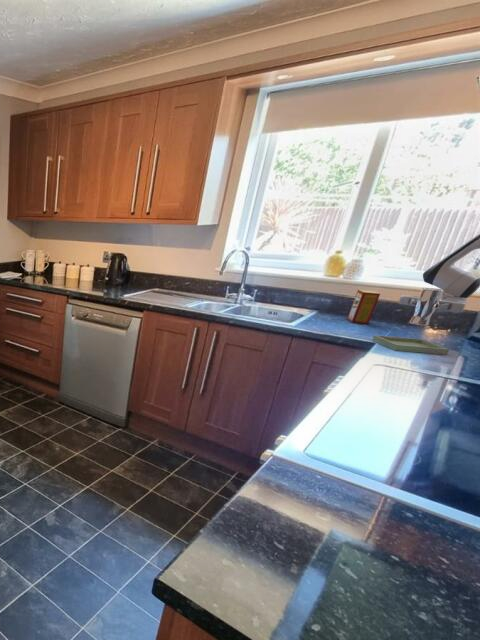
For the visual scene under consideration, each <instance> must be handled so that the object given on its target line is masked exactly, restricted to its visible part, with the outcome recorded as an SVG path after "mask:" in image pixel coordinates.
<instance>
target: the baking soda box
mask: <svg viewBox="0 0 480 640" xmlns="http://www.w3.org/2000/svg"><path fill="white" fill-rule="evenodd" d="M380 295H381V293H380V292H377V291H374V290H365V289H357V291H356V294H355V297H354V299H353V302H352V304H351V307H350V310H349V312H348V314H347V317H346V320H348V321H349V322H350V323H353V324H362V325H369V324H370V320H371V318H372V316H373V313H374V311H375V308H376V305H377V303H378V300H379V298H380Z"/></svg>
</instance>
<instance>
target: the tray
mask: <svg viewBox="0 0 480 640" xmlns="http://www.w3.org/2000/svg"><path fill="white" fill-rule="evenodd" d="M372 337H373V338H372V341H373V342H375V343H377V344H380V345H382V346H384V347H387V348H389V349H391V350H393V351H400V352H409V353H411V352H412V353H421V354H432V355H444V356H445V355H447V356H448V353H449V351H450V349H449V348H446V347H444V346H441V345H438V344H436V343H434V342H431V341H429V340H426V339H423V338H414V337H403V336H401V337H400V336H391V335H390V336H389V335H388V336H387V335H378V334H377V335H376V334H373V336H372Z"/></svg>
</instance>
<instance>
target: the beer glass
mask: <svg viewBox="0 0 480 640" xmlns="http://www.w3.org/2000/svg"><path fill="white" fill-rule="evenodd" d="M444 291H445V290H442V289H440V288H432V287H422V289H421V291H420V293H419V294H418V296H419V297H418V299H417V302H416V306H414V312H413V315H412V316H411V318H410V320H409V321H408V323H409V324H412V325H416V326H424V327H425V326H427V327H428V326H429V325H430V321H431V317H432V315H433V314H434V313H435V312H434V311H435V309H436V308H437V307H438V304H439V303H440V301H441V299H442V296H443V293H444Z"/></svg>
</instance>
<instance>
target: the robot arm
mask: <svg viewBox="0 0 480 640" xmlns="http://www.w3.org/2000/svg"><path fill="white" fill-rule="evenodd" d="M478 249H480V233H479V234H477V235H476V236H474V237H473V238H471V239H469V240H468V241H467V242H465V243H464V244H462V245H461V246H459V247H457V248H456V249H455V250H454V251H452V252H451V253H450V254H448V255H446V256H445V257H444V258H442V259H441V260H439V261H438V262H435V263H433V264H432V265H431V266H429V267H428V268H426V270H424V272H423V274H422V280H423V282H424V283H426V284H427V285H431V286H434V287H436V288H437V289H441V290H445V291H444V293H443V296H442V299H441V301H440V303H439V304H438V307H437V308H436V309H435V311H434V312H433V313H452V314H453V313H454V314H459V313H463V312H464V310H465V308H466V305H467V303H468V301H467V299H468V298H469V297H471V296H472V295H473V294H474V293H476V291H477V290H478V289H479V288H480V277H479V276H477V275H475V274H473V273H471V272H468V271H466V270H464V269H461V268H459V267H458V266H455V264H456V263H457V262H458V261H459V260H461V259H463V258H464V257H465V256H467V255H469V254H470V253H472V252H473V251H475V250H478ZM418 297H419V295H413V294H412V295H411V294H405V295H401V296H400V297H399V299H398V301H397V302H398V304H400V305H404V306H412V307H415V306H416V302H417V299H418Z"/></svg>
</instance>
